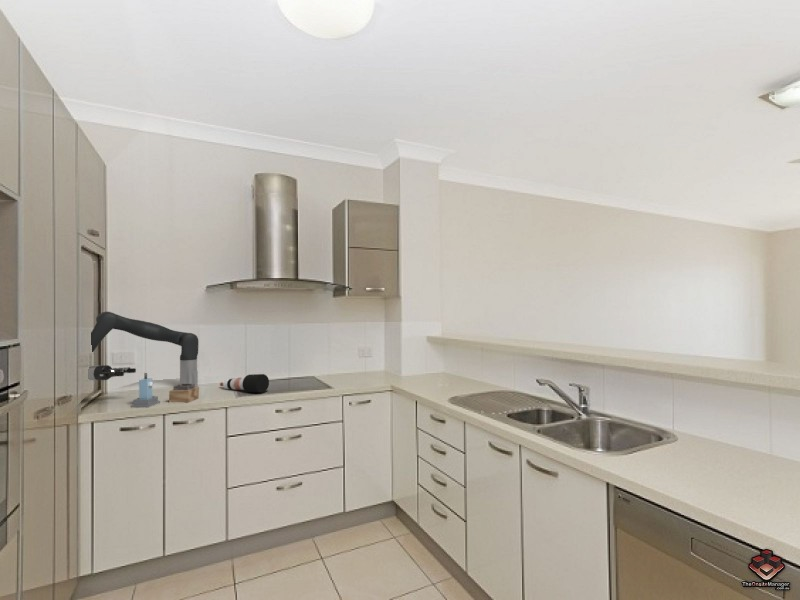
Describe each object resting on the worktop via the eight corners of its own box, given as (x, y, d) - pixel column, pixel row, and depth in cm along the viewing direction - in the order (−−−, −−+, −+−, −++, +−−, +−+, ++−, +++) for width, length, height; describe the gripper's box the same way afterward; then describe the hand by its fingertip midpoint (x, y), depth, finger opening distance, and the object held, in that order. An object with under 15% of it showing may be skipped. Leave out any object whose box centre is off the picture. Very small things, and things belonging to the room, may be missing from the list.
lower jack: (143, 402, 207) (143, 395, 207) (160, 402, 206) (160, 395, 207) (130, 407, 198) (130, 400, 198) (148, 407, 198) (148, 400, 198)
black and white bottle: (225, 394, 244) (230, 378, 249) (266, 394, 229) (271, 377, 233) (211, 390, 236) (217, 373, 241) (253, 389, 221) (258, 371, 225)
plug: (144, 401, 204) (144, 372, 204) (154, 401, 204) (154, 372, 204) (139, 403, 200) (139, 373, 200) (149, 403, 200) (149, 373, 200)
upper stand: (180, 398, 217) (180, 383, 217) (198, 398, 216) (198, 383, 216) (169, 402, 207) (169, 387, 207) (188, 402, 206) (188, 387, 206)
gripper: (87, 368, 198) (118, 367, 198) (109, 363, 213) (138, 362, 212) (87, 383, 199) (119, 382, 198) (109, 377, 213) (139, 376, 212)
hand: (129, 372), depth 205 cm, fingers open, 8 cm apart
